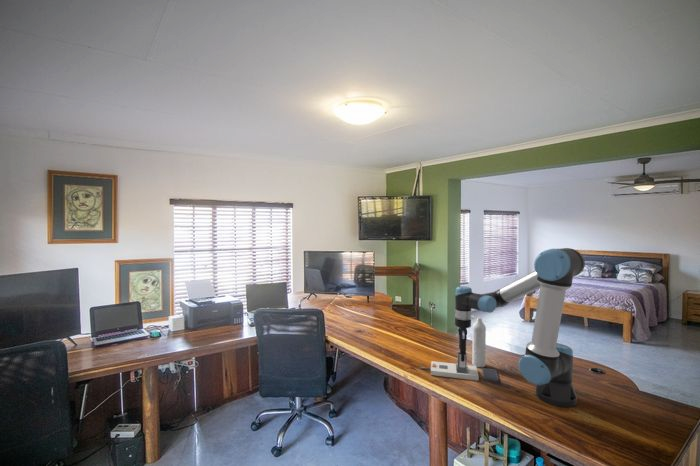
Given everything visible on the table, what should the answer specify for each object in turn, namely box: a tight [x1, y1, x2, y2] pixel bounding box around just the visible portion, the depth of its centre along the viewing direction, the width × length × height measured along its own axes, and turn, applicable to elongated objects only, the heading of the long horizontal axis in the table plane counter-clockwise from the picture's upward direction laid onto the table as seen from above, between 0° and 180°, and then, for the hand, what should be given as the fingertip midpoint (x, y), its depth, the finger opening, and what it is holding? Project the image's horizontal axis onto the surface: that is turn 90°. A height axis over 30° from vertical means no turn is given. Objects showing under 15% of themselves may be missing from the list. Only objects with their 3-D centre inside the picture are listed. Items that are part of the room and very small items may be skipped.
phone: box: [481, 367, 500, 383], centre depth 164 cm, size 6×12×2 cm, turn 162°
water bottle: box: [471, 315, 487, 368], centre depth 178 cm, size 9×6×25 cm
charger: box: [456, 351, 468, 372], centre depth 167 cm, size 4×4×8 cm
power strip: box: [419, 360, 480, 382], centre depth 169 cm, size 28×12×3 cm, turn 75°
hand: (462, 365), depth 167 cm, fingers closed on charger, 4 cm apart
